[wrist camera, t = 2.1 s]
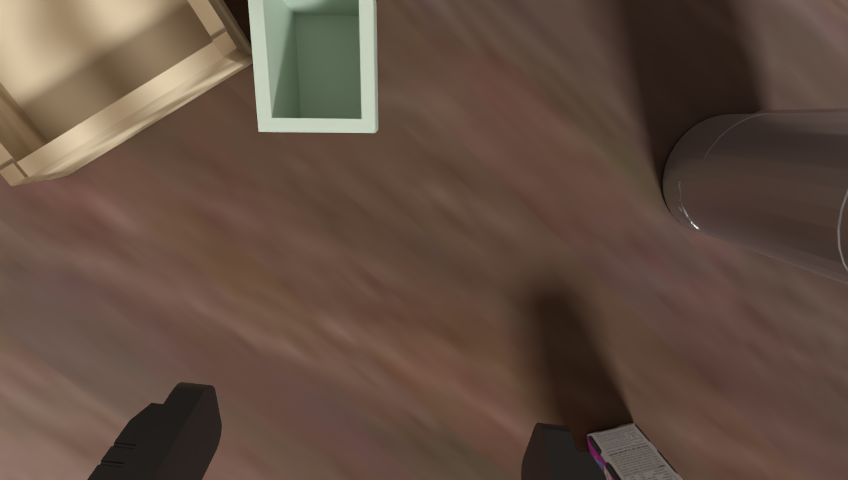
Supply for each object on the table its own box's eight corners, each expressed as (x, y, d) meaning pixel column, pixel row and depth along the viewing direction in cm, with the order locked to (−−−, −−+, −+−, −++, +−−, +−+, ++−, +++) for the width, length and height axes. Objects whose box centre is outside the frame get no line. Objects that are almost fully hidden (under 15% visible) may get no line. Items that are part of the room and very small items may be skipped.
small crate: (376, 7, 30) (372, -38, 22) (378, 129, 32) (375, 132, 24) (285, 4, 30) (244, -44, 21) (293, 128, 32) (258, 131, 23)
